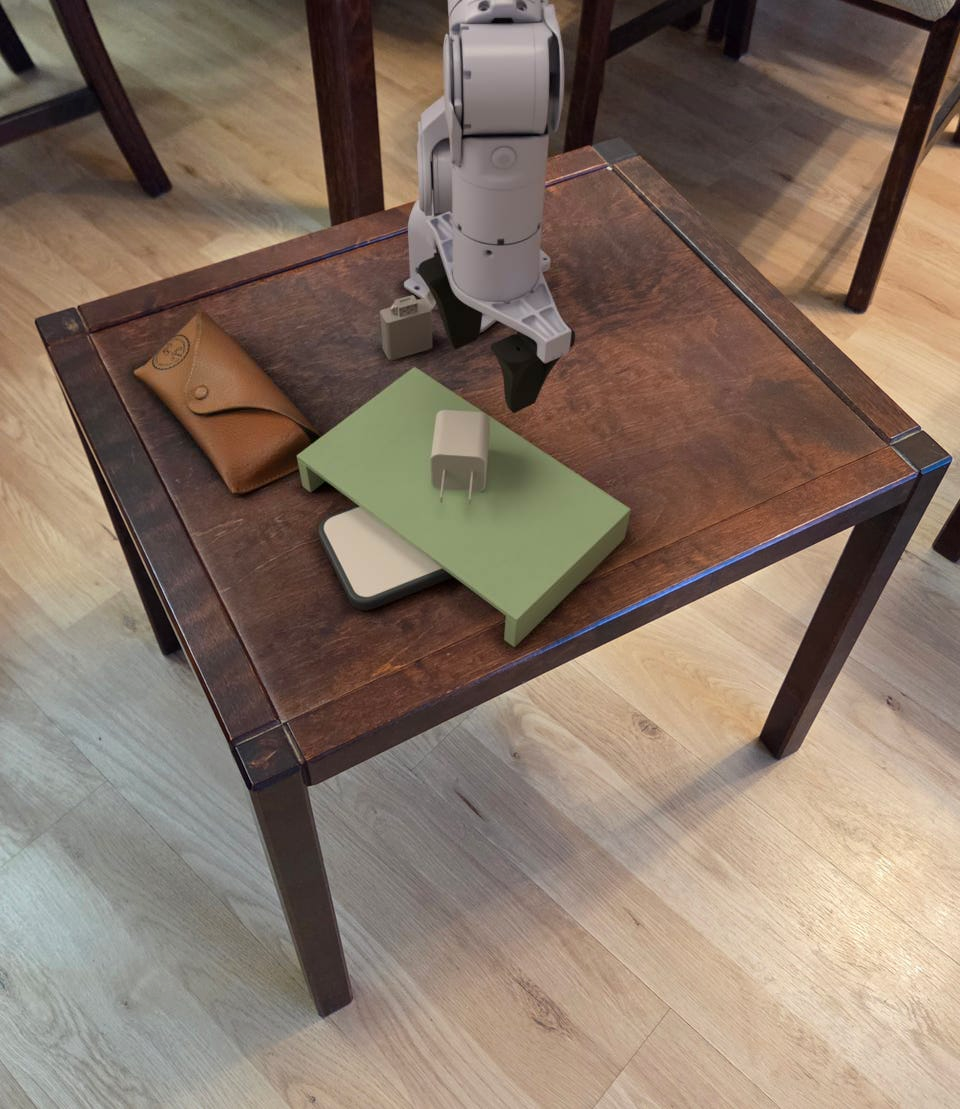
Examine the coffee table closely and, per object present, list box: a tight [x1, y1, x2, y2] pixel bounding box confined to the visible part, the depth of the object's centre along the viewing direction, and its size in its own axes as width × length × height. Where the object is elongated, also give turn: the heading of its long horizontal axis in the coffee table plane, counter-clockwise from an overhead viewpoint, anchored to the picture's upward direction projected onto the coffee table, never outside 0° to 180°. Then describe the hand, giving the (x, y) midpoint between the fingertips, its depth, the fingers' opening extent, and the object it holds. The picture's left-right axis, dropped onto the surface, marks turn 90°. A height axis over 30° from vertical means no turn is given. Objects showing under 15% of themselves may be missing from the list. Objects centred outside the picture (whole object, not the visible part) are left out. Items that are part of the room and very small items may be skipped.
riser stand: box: [297, 366, 632, 648], centre depth 80 cm, size 22×13×4 cm, turn 48°
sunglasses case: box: [133, 309, 322, 495], centre depth 86 cm, size 18×7×7 cm
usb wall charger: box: [430, 410, 491, 505], centre depth 77 cm, size 4×7×4 cm, turn 176°
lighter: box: [379, 289, 439, 361], centre depth 89 cm, size 7×2×8 cm, turn 114°
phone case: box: [317, 504, 455, 612], centre depth 80 cm, size 9×2×16 cm
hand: (492, 373), depth 77 cm, fingers open, 7 cm apart
